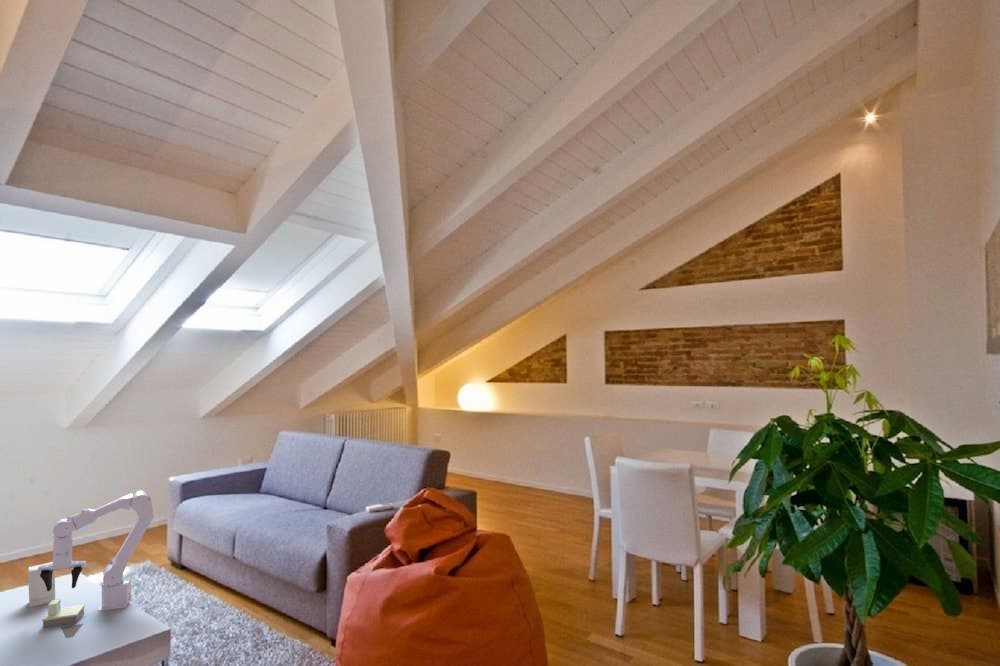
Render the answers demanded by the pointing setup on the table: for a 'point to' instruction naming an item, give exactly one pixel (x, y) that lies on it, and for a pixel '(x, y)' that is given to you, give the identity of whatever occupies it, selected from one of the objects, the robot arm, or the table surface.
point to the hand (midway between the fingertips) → (61, 588)
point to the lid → (61, 610)
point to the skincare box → (39, 587)
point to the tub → (63, 620)
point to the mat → (70, 630)
